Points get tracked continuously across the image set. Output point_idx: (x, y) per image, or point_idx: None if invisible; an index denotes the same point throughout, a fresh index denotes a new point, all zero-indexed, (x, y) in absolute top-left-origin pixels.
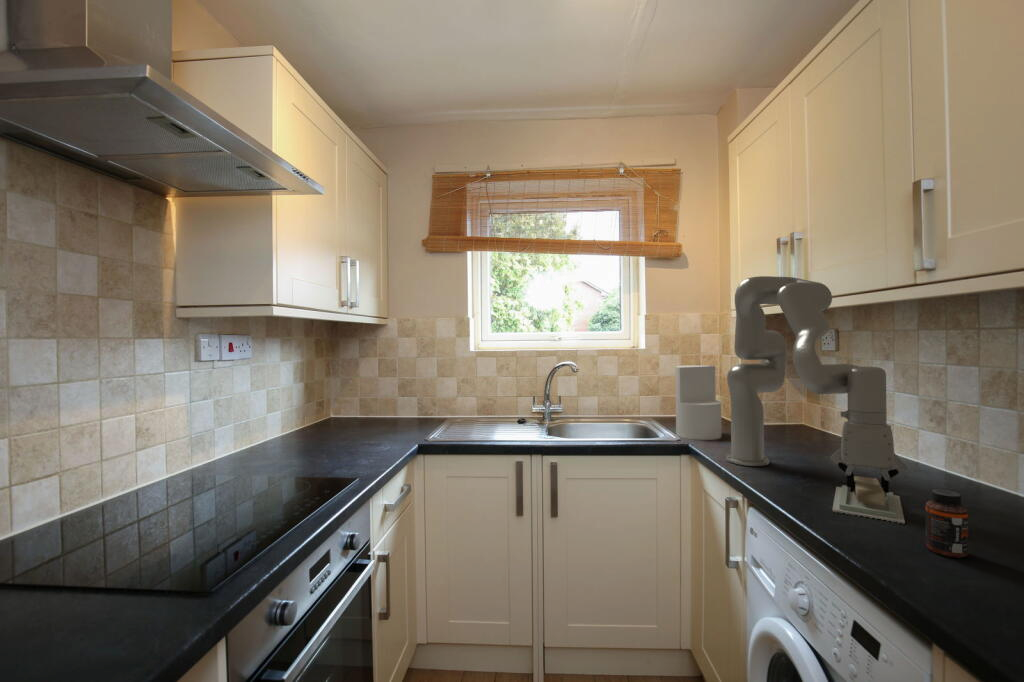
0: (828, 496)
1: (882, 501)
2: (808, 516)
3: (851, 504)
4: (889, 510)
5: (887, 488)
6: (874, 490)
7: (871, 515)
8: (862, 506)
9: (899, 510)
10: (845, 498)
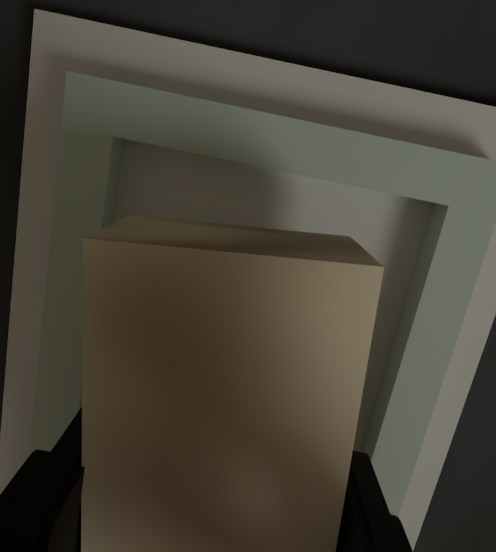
0: (460, 511)
1: (138, 222)
2: None
3: None
4: (108, 167)
5: (26, 475)
6: (187, 284)
7: (267, 82)
8: None
9: (28, 317)
10: (402, 381)
